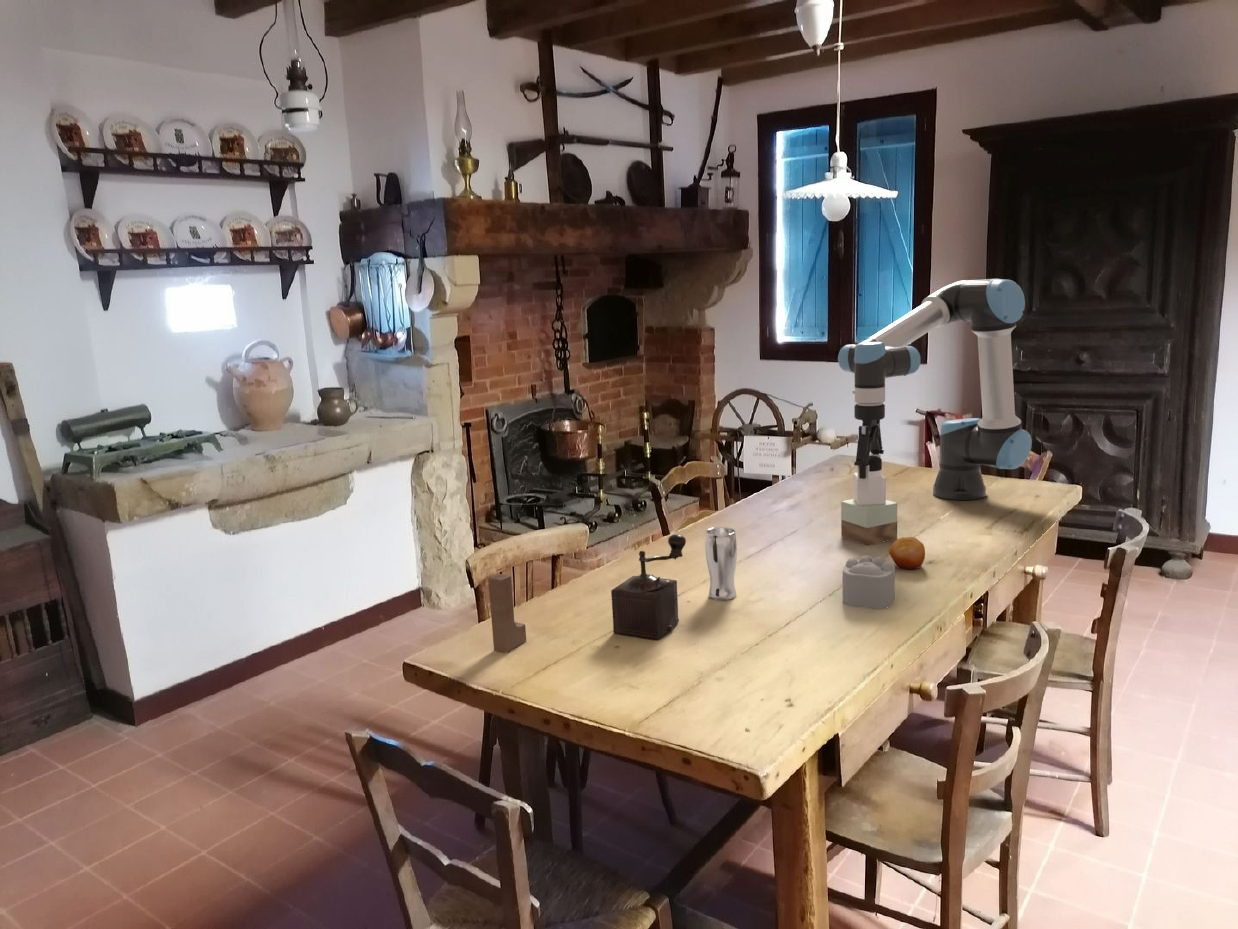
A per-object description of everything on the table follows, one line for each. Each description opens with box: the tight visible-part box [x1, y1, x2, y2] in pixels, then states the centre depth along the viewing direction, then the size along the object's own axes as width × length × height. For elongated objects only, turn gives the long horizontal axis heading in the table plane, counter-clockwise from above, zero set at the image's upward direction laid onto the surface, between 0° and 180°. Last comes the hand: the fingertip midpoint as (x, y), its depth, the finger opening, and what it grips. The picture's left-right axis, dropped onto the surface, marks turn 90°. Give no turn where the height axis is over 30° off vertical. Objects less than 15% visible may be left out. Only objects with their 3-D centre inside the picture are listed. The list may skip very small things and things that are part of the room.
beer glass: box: [704, 526, 738, 601], centre depth 203 cm, size 7×7×15 cm
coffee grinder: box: [610, 534, 687, 641], centre depth 188 cm, size 16×11×18 cm
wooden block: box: [487, 573, 527, 654], centre depth 181 cm, size 7×3×15 cm, turn 149°
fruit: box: [888, 536, 926, 570], centre depth 217 cm, size 8×8×8 cm
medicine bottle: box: [853, 455, 887, 505], centre depth 238 cm, size 7×7×12 cm
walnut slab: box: [840, 520, 898, 546], centre depth 241 cm, size 10×10×5 cm
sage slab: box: [840, 498, 898, 528], centre depth 239 cm, size 10×10×5 cm
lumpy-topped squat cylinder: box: [841, 555, 896, 611], centre depth 198 cm, size 10×13×9 cm
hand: (869, 484), depth 238 cm, fingers open, 13 cm apart
